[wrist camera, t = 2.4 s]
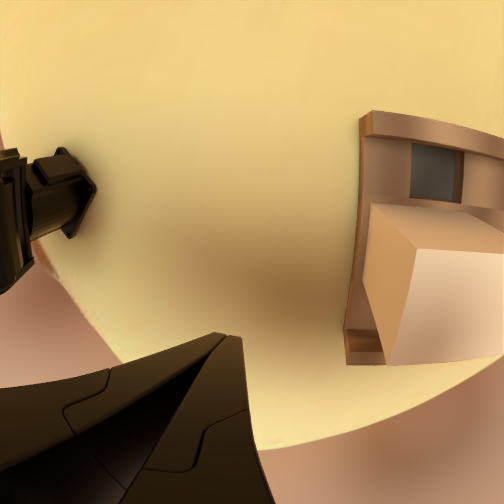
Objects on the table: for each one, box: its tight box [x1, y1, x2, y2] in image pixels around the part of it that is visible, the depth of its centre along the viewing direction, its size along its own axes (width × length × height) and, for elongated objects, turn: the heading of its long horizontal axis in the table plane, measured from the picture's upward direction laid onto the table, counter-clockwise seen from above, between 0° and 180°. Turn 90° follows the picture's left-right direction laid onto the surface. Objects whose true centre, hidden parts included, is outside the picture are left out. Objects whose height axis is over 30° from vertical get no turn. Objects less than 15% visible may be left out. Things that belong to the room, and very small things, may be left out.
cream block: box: [362, 203, 504, 366], centre depth 12 cm, size 7×5×8 cm
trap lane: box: [343, 110, 504, 365], centre depth 14 cm, size 16×15×4 cm
